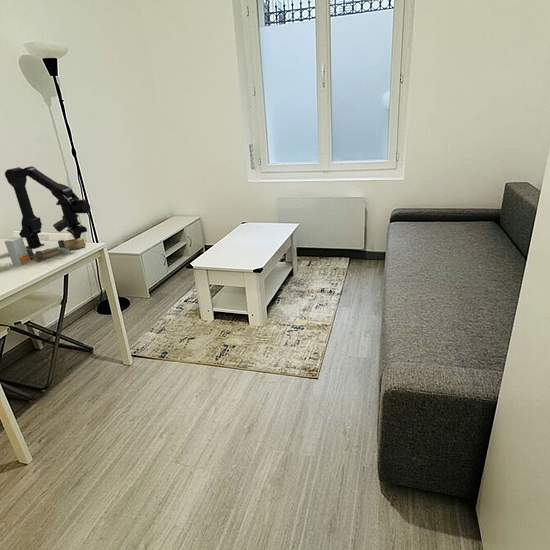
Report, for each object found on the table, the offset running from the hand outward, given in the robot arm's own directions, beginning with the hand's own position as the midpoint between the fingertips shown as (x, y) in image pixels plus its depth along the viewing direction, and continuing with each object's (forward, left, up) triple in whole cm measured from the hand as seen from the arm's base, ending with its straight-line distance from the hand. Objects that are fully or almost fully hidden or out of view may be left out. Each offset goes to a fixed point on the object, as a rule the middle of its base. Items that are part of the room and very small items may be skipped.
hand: (78, 242), depth 197 cm
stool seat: (-1, -16, -2) cm, 16 cm away
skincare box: (-3, -27, -2) cm, 27 cm away
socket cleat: (+5, -11, -2) cm, 12 cm away
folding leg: (+1, -4, -1) cm, 4 cm away
